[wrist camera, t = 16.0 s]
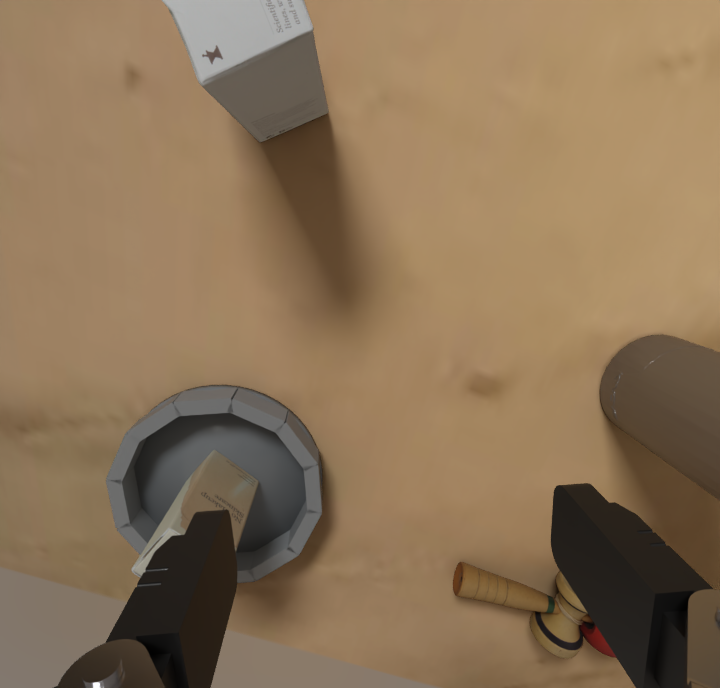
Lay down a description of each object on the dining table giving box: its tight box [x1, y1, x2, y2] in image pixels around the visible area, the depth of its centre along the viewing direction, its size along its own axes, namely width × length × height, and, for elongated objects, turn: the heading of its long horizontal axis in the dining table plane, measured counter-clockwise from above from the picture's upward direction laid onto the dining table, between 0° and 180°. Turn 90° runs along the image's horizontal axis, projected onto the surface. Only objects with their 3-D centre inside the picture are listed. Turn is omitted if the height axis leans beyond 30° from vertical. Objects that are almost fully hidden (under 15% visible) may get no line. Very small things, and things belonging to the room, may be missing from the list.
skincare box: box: [162, 0, 328, 142], centre depth 27 cm, size 8×6×15 cm
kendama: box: [453, 562, 617, 659], centre depth 45 cm, size 8×6×18 cm
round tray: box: [106, 385, 323, 583], centre depth 40 cm, size 17×17×3 cm
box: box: [132, 450, 259, 578], centre depth 36 cm, size 5×4×11 cm
